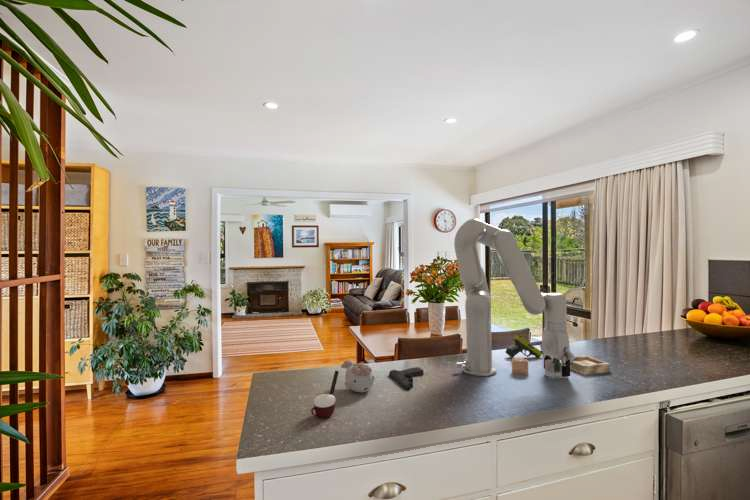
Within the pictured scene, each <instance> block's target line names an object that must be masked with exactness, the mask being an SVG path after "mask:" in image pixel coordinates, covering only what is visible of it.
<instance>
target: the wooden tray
mask: <svg viewBox="0 0 750 500" xmlns="http://www.w3.org/2000/svg"><path fill="white" fill-rule="evenodd" d="M564 361H566V359H565V360H564ZM573 370H574V372H575V371H576V373H578V372H579V373H578V374H580V373H581V374H580V375H583V376H587V375H594V374H604V373H611V363H610V362H607V361H603V360H602V359H601V360H600V359H598V358H595V357H591V356H589V355H578V356H575V357H574V360H573V363H572V364H571V366H570V371H573ZM586 374H587V375H586Z"/></svg>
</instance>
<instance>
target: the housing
mask: <svg viewBox="0 0 750 500" xmlns="http://www.w3.org/2000/svg"><path fill="white" fill-rule="evenodd" d="M565 362H566V361H565ZM562 365H563V364H562V362H561V360H560V359H559V360H558V359H554V358H552V359H549V360H545V369H544V373H545V374H544V376H545V375H546V376H545V377H547V376H548V377H547V378H549V377H550V378H549V379H551V378H552V380H553V379H558V380H564V379H563V378H567V379H569V376H568V377H562V370H561V366H562Z"/></svg>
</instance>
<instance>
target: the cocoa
mask: <svg viewBox="0 0 750 500" xmlns="http://www.w3.org/2000/svg"><path fill="white" fill-rule="evenodd" d="M339 373H340V372H339V370H335V371H334V374H333V378H332V382H331V386H330V389H329V393H322V394H320V395H318V396H315V398H314V399H313V407H312V408H311V409H310V412H311V415H313V416H315V417H318V418H320V419H327V418H330V417H331V416H332V415H333V414H334V412H335V408H336V397H335V396H334V392H335V389H336V385H337V380H338V377H339Z"/></svg>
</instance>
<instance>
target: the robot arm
mask: <svg viewBox="0 0 750 500" xmlns="http://www.w3.org/2000/svg"><path fill="white" fill-rule="evenodd" d="M453 243H454V244H453V246H454V252H455V256H456V263H457V267H458V272H459V278H460V281H461V283H462V284H463V287H464V293H465V296H466V297H465V298H466V299H465V306H464V308H465V331H466V332H465V333H466V334H465V335H466V337H465V338H466V358H464V360H463V361H462V362H460V361H459V362H455V364H454V365H455V368H461V369H462V371H463V372H464V373H465V374H468V375H471V376H477V377H489V376H494V375H495V374H496V373H497V368H495V367H494V366H493V355H492V354H493V352H492V346H493V345H492V300H491V294H490V291H489V285H488V282H487V277H486V273H485V270H484V268H483V267H482V265H481V262H480V257H479V252H478V246H477V243H479V244H482V245H484V246H486V247H489V248H491V249H494V250H495V252H496V255H497V257H498V258H499V261H500V263H501V265H502V267H503V269H504V271H505V274H506V276H507V277H508V279H509V280H510V281H511V283H512V285H513V286H514V289H515V290H516V292H517V295H518V297H519V299H520V301H521V303H522V306H523V308H524V310H525V311H526V312H527V313H529V314H530V315H534V316H536V315H537V316H538V315H540V314H542V313H544V328H543V331H542V338H541V339H542V340H541V341H542V342H541V343H540V344H539V347H540V351H541V352H542V358H543V369H544V370H545V360H549V359H553V358H554V359H558V360H559V359H560V360H561V362H562V364H563V365H562V366H561V370H562V377H568V378H569V377H571V369H570V366H571V364H572V363H573V360H574V357H576V356H575V355H574V353H572V351H570V350H571V349H570V340H569V333H568V322H567V320H568V318H567V317H568V316H567V296H566V295H565V294H564V293H561V292H547V293H546V292H542V291H541V290H540V288H539V286H538V283H537V282H536V280H535V277H534V275H533V273H532V271H531V268H530V265H529V264H528V262H527V258H525V256H524V253H523V252H522V249H521V248H520V245H519V243H518V241H517V239H516V237H515V235H514V234H513V232H511V231H510V230H508V229H501V228H499V227H496V226H493V225H491V224H488V223H486V222H484V221H483V220H482V219H480V218H470V219H467V221H465V222H464V223H463V224H462V225H461V226H459V228H458V229H457V231H456V234H455V237H454V242H453ZM565 359H566V362H565V361H564V360H565Z"/></svg>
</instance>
